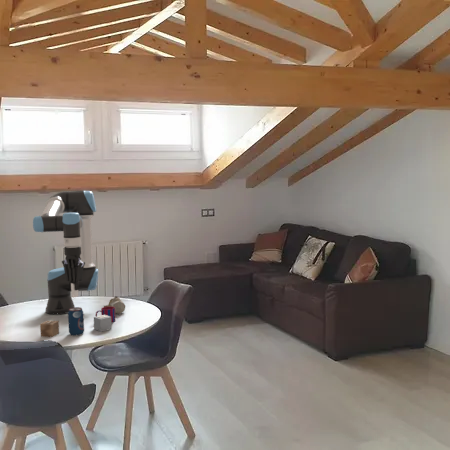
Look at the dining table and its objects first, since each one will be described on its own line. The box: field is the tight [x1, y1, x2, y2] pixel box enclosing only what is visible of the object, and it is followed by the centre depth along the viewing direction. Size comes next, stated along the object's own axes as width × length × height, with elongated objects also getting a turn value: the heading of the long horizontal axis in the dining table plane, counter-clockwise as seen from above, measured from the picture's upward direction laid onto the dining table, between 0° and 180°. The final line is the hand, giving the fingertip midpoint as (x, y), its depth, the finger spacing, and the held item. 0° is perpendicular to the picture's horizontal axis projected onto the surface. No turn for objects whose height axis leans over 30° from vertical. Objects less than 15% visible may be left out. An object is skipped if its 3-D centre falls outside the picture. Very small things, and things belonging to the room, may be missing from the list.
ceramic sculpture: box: [103, 296, 126, 315], centre depth 304 cm, size 11×9×15 cm
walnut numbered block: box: [39, 320, 60, 338], centre depth 264 cm, size 6×6×6 cm
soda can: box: [67, 306, 85, 337], centre depth 264 cm, size 7×7×12 cm
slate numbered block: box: [93, 314, 113, 333], centre depth 272 cm, size 6×6×6 cm
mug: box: [95, 306, 116, 324], centre depth 284 cm, size 7×10×7 cm
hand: (75, 296), depth 263 cm, fingers closed
